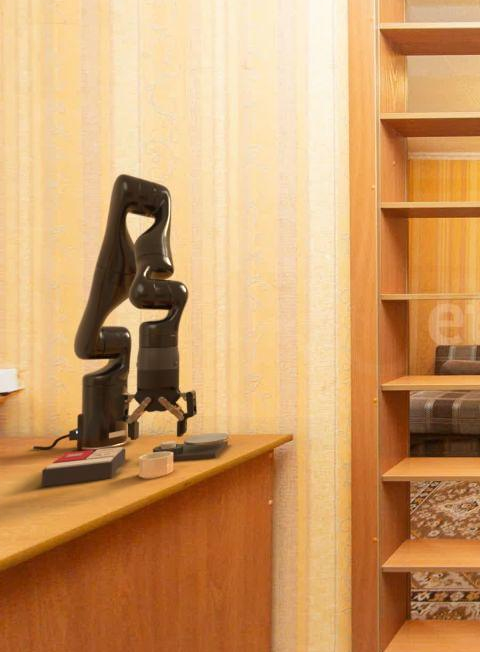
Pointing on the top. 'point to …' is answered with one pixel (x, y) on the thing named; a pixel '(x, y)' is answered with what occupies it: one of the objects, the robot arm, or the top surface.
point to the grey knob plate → (194, 451)
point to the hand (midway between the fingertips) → (157, 437)
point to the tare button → (168, 444)
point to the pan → (206, 439)
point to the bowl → (155, 464)
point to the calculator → (83, 466)
